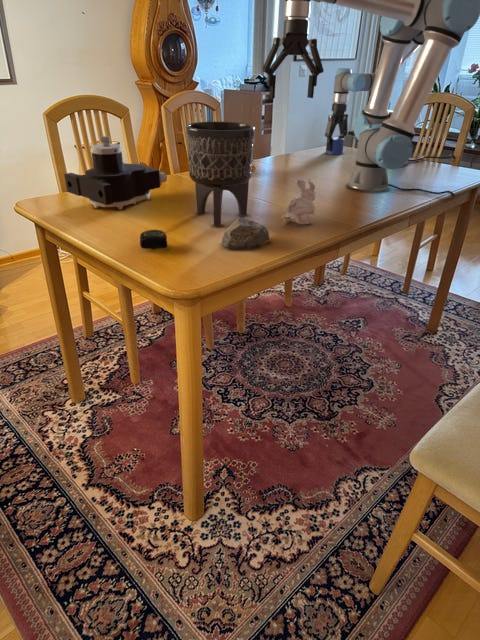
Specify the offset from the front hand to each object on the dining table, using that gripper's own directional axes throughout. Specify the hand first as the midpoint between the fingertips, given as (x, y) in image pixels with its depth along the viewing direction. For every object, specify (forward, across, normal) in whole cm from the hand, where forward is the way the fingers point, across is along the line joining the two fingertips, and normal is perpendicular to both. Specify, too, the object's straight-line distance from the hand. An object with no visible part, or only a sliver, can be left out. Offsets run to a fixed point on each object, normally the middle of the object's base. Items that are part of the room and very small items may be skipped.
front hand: (291, 98), depth 146 cm
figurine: (+32, +8, +27) cm, 43 cm away
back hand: (+30, -62, -74) cm, 102 cm away
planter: (+32, +29, +16) cm, 46 cm away
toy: (+32, +1, -41) cm, 52 cm away
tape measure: (+32, +53, +36) cm, 72 cm away
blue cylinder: (+32, -62, -74) cm, 102 cm away
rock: (+32, +29, +40) cm, 59 cm away
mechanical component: (+32, +55, -10) cm, 64 cm away
